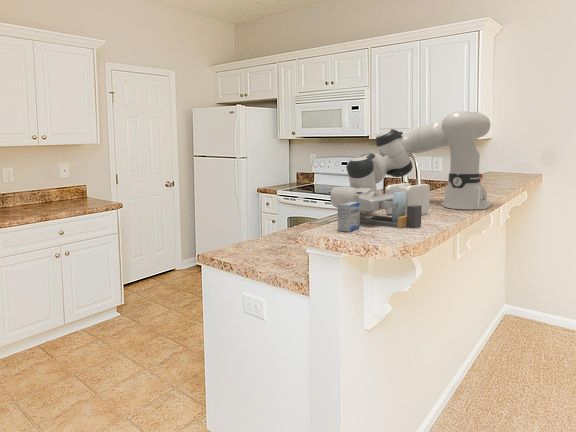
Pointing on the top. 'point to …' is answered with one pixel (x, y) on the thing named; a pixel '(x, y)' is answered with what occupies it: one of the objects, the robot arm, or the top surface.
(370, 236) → the top surface
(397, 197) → the marker sleeve
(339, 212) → the medicine box
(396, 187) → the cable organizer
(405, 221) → the comb channel
